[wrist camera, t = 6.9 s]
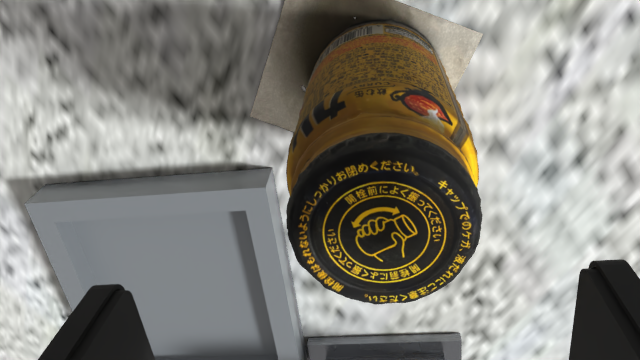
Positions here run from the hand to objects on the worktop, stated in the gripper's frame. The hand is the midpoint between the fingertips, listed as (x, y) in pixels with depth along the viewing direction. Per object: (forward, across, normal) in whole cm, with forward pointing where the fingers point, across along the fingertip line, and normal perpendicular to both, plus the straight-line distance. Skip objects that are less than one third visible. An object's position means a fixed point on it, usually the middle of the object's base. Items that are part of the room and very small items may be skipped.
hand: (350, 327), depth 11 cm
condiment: (+15, 0, -1) cm, 15 cm away
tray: (+15, +11, +10) cm, 21 cm away
